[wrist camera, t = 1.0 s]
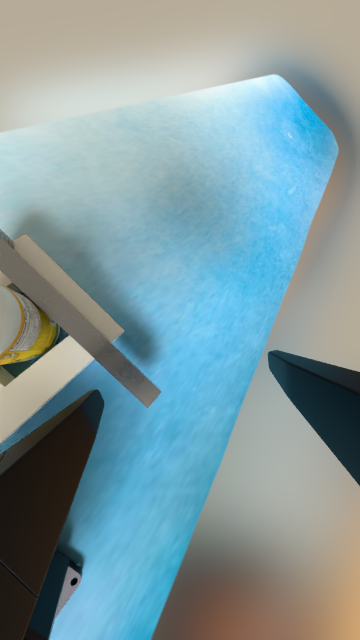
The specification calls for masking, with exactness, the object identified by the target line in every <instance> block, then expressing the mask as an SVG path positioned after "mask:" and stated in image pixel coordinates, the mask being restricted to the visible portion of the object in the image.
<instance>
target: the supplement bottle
mask: <svg viewBox="0 0 360 640" xmlns="http://www.w3.org/2000/svg"><path fill="white" fill-rule="evenodd" d="M59 333H60V326H59V325H58V324H57V323H56V322H55V321H54V320H53V319H52V318H50V317H49V316H48V315H47V314H46V313H45V312H44V311H43V310H42V309H41V308H40V307H39V306H38V305H36V304H35V303H34V302H33V301H32V300H31V299H29V298H27V297H25V296H23V295H21V294H19V293H17V292H15V291H13V290H11V289H9V288H7V287H5V286H3V285H1V284H0V365H3V364H10V363H18V362H24V361H29V360H32V359H35V358H38V357H40V356H42V355H44V354H45V353H47V352H48V351H49V350H51V349H52V348H53V346H54V345H55V344H56V342H57V340H58V337H59Z"/></svg>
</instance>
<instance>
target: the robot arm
mask: <svg viewBox="0 0 360 640" xmlns="http://www.w3.org/2000/svg"><path fill="white" fill-rule="evenodd" d="M268 362H269V368H270V371H271V372H272V374H273V375H274V377H275V378H276V380H277V381H278V383H279V384H280V386H281V387H282V389H283V390H284V392H285V394H286V395H287V396H288V398H289V399H290V400H291V401H292V403H293V404H294V405H295V406H296V408H297V409H298V410H299V411H300V413H301V414H302V415H303V416H304V418H305V419H306V420H307V421H308V423H309V424H310V425H311V426H312V427H313V429H314V430H315V431H316V432H317V434H318V435H319V436H320V437H321V439H322V440H323V441H324V442H325V444H326V445H327V446H328V447H329V448H330V450H331V451H332V452H333V453H334V455H335V456H336V457H337V458H338V460H339V461H340V462H341V463H342V465H343V466H344V467H345V468H346V470H347V471H348V472H349V473H350V474H351V476H352V477H353V478H354V479H355V481H356V482H357V483H358V484H359V486H360V372H357V371H354V370H349V369H346V368H342V367H338V366H335V365H331V364H327V363H323V362H320V361H316V360H312V359H308V358H305V357H301V356H297V355H293V354H290V353H286V352H282V351H278V350H274V351H270V352H268ZM103 409H104V400H103V398H102V396H101V394H100V392H99V390H97V389H95V390H91V391H88V392H87V393H86V394H84V395H83V396H81V397H80V398H79V399H77V400H76V401H74V402H73V403H72V404H70V405H69V406H67V407H66V408H65V409H63V410H62V411H60V412H59V413H58V414H56V415H55V416H53V417H52V418H51V419H49V420H48V421H47V422H45V423H44V424H42V425H41V426H40V427H38V428H37V429H35V430H34V431H33V432H31V433H30V434H28V435H27V436H26V437H24V438H23V439H21V440H20V441H19V442H17V443H16V444H14V445H13V446H12V447H10V448H9V449H8V450H6V451H5V452H3V453H2V454H0V640H49V639H50V635H51V631H52V627H53V624H54V620H55V618H56V617H57V615H58V614H59V612H60V611H61V610H62V608H63V607H64V605H65V604H66V603H67V601H68V600H69V598H70V597H71V595H72V594H73V593H74V591H75V590H76V588H77V587H78V586H79V584H80V582H81V577H82V569H81V568H80V567H79V566H77V565H76V564H75V563H73V562H72V561H71V560H69V559H68V558H67V557H65V556H64V555H62V554H61V553H60V552H58V551H57V550H56V546H57V543H58V540H59V538H60V535H61V532H62V529H63V527H64V524H65V521H66V518H67V516H68V513H69V510H70V507H71V505H72V502H73V499H74V496H75V493H76V491H77V488H78V485H79V482H80V480H81V477H82V474H83V471H84V469H85V466H86V463H87V460H88V458H89V455H90V452H91V449H92V447H93V444H94V441H95V438H96V435H97V431H98V427H99V424H100V420H101V416H102V412H103ZM75 577H76V579H73V578H75Z"/></svg>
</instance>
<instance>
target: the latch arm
mask: <svg viewBox="0 0 360 640" xmlns="http://www.w3.org/2000/svg"><path fill="white" fill-rule="evenodd" d="M0 271H1V272H2V273H3V274H4V275H5V276H6V277H8V278H9V279H10V280H11V281H12V282H13V283H14V284H15V285H16V286H17V287H18V288H19V289H20V290H21V291H23V292H24V293H25V294H26V295H27V296H28V297H29V298H30V299H31V300H32V301H33V302H34V303H35V304H36V305H38V306H39V307H40V308H41V309H42V310H43V311H44V312H45V313H46V314H47V315H48V316H49V317H50V318H52V319H53V320H54V321H55V322H56V323H57V324H58V325H59V326H60V327H61V328H62V329H63V330H64V331H65V332H67V333H68V334H69V335H70V336H71V337H72V338H73V339H74V340H75V341H76V342H77V343H78V344H79V345H80V346H82V347H83V348H84V349H85V350H86V351H87V352H88V353H89V354H90V355H91V356H92V357H93V358H94V359H96V360H97V361H98V362H99V363H100V364H101V365H102V366H103V367H104V368H105V369H106V370H107V371H108V372H109V373H111V374H112V375H113V376H114V377H115V378H116V379H117V380H118V381H119V382H120V383H121V384H122V385H123V386H124V387H126V388H127V389H128V390H129V391H130V392H131V393H132V394H133V395H134V396H135V397H136V398H137V399H138V400H140V401H141V402H142V403H143V404H144V405H145V406H146V407H147V408H148V407H149V406H150V405H151V404H152V402H153V401H154V400H155V399H156V398H157V396H158V395H159V394H160V393H161V391H160V390H159V388H158V387H157V386H156V385H155V384H154V383H153V382H152V381H151V380H150V379H149V378H147V377H146V376H145V375H144V374H143V373H142V372H141V371H140V370H139V369H138V368H137V367H136V366H135V365H134V364H133V363H132V362H131V361H130V360H129V359H128V358H127V357H126V356H125V355H124V354H123V353H121V352H120V351H119V350H118V349H117V348H116V347H115V346H114V345H113V344H112V343H111V342H110V341H109V340H108V339H107V338H106V337H105V336H104V335H103V334H102V333H101V332H100V331H99V330H98V329H96V328H95V327H94V326H93V325H92V324H91V323H90V322H89V321H88V320H87V319H86V318H85V317H84V316H83V315H82V314H81V313H80V312H79V311H78V310H77V309H76V308H75V307H74V306H73V305H71V304H70V303H69V302H68V301H67V300H66V299H65V298H64V297H63V296H62V295H61V294H60V293H59V292H58V291H57V290H56V289H55V288H54V287H53V286H52V285H51V284H50V283H49V282H48V281H46V280H45V279H44V278H43V277H42V276H41V275H40V274H39V273H38V272H37V271H36V270H35V269H34V268H33V267H32V266H31V265H30V264H29V263H28V262H27V261H26V260H25V259H24V258H23V257H21V256H20V255H19V254H18V253H17V252H16V251H15V250H14V243H13V241H12V240H11V239H10V238H9V237H8V236H7V235H6V234H5V233H4V232H3V231H2V230H1V229H0Z"/></svg>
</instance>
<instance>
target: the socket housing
mask: <svg viewBox="0 0 360 640" xmlns="http://www.w3.org/2000/svg"><path fill="white" fill-rule="evenodd" d="M13 243H14V250H15V251H16V252H17V253H18V254H19V255H20V256H21V257H23V258H24V259H25V260H26V261H27V262H28V263H29V264H30V265H31V266H32V267H33V268H34V269H35V270H36V271H37V272H38V273H39V274H40V275H41V276H42V277H43V278H44V279H45V280H46V281H48V282H49V283H50V284H51V285H52V286H53V287H54V288H55V289H56V290H57V291H58V292H59V293H60V294H61V295H62V296H63V297H64V298H65V299H66V300H67V301H68V302H69V303H70V304H71V305H73V306H74V307H75V308H76V309H77V310H78V311H79V312H80V313H81V314H82V315H83V316H84V317H85V318H86V319H87V320H88V321H89V322H90V323H91V324H92V325H93V326H94V327H95V328H96V329H98V330H99V331H100V332H101V333H102V334H103V335H104V336H105V337H106V338H107V339H108V340H109V341H110V342H111V343H113V342H114V341H115V340H117V339H118V338H119V337H120V336H121V335H122V334H123V333H124V330H123V329H122V328H121V327H120V326H119V325H118V324H117V323H116V322H115V321H114V320H113V319H112V318H111V317H110V316H109V315H108V314H107V313H106V312H105V311H104V310H103V309H102V308H101V307H100V306H99V305H98V304H97V303H96V302H95V301H94V300H93V299H92V298H91V297H90V296H89V295H88V294H87V293H86V292H85V291H84V290H83V289H82V288H81V287H80V286H79V285H78V284H77V283H76V282H75V281H74V280H73V279H71V278H70V277H69V276H68V275H67V274H66V273H65V272H64V271H63V270H62V269H61V268H60V267H59V266H58V265H57V264H56V263H55V262H54V261H53V260H52V259H51V258H50V257H49V256H48V255H47V254H46V253H45V252H44V251H43V250H42V249H41V248H40V247H39V246H38V245H37V244H36V243H35V242H34V241H33V240H32V239H31V238H30V237H29V236H28V235H27V234H25V235H23V236H21V237H19V238H17V239H15V240H13ZM0 284H1V285H3V286H5V287H7V288H9V289H11V290H13V291H15V292H17V293H19V294H21V293H22V292H23V291H21V290H20V289H19V288H18V287H17V286H16V285H15V284H14V283H13V282H12V281H11V280H10V279H9V278H8V277H6V276H5V275H4V274H3V273H2V272H1V271H0ZM94 360H95V359H94V358H93V357H92V356H91V355H90V354H89V353H88V352H87V351H86V350H85V349H84V348H83V347H82V346H80V345H79V344H78V343H77V342H76V341H75V340H74V339H73V338H72V337H71V336H70V335H69V336H67V337H66V338H65V339H64V340H63V341H61V342H60V343H59V344H58V345H56V346H55V347H54V348H53V349H51V350H50V351H49V352H48V353H46V354H45V355H44V356H43V357H41V358H40V359H39V360H38V361H36V362H35V363H34V364H33V365H31V366H30V367H29V368H28V369H26V370H25V371H24V372H23V373H21V374H20V375H19V376H18V377H16V378H15V377H14V376H13V375H11V374H10V373H9V372H8V371H7V370H6V369H4V368H3V367H2V366H1V365H0V444H1V443H2V442H3V441H5V440H6V439H7V438H9V437H10V436H11V435H12V434H14V433H15V432H16V431H17V430H18V429H19V428H20V427H21V426H22V425H24V424H25V423H26V422H27V421H28V420H29V419H30V418H31V417H32V416H33V415H34V414H36V413H37V412H38V411H39V410H40V409H41V408H42V407H43V406H44V405H45V404H47V403H48V402H49V401H50V400H51V399H52V398H53V397H54V396H55V395H56V394H57V393H59V392H60V391H61V390H62V389H63V388H64V387H65V386H66V385H67V384H68V383H69V382H71V381H72V380H73V379H74V378H75V377H76V376H77V375H78V374H79V373H80V372H82V371H83V370H84V369H85V368H86V367H87V366H88V365H89V364H90V363H91V362H92V361H94Z"/></svg>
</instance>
